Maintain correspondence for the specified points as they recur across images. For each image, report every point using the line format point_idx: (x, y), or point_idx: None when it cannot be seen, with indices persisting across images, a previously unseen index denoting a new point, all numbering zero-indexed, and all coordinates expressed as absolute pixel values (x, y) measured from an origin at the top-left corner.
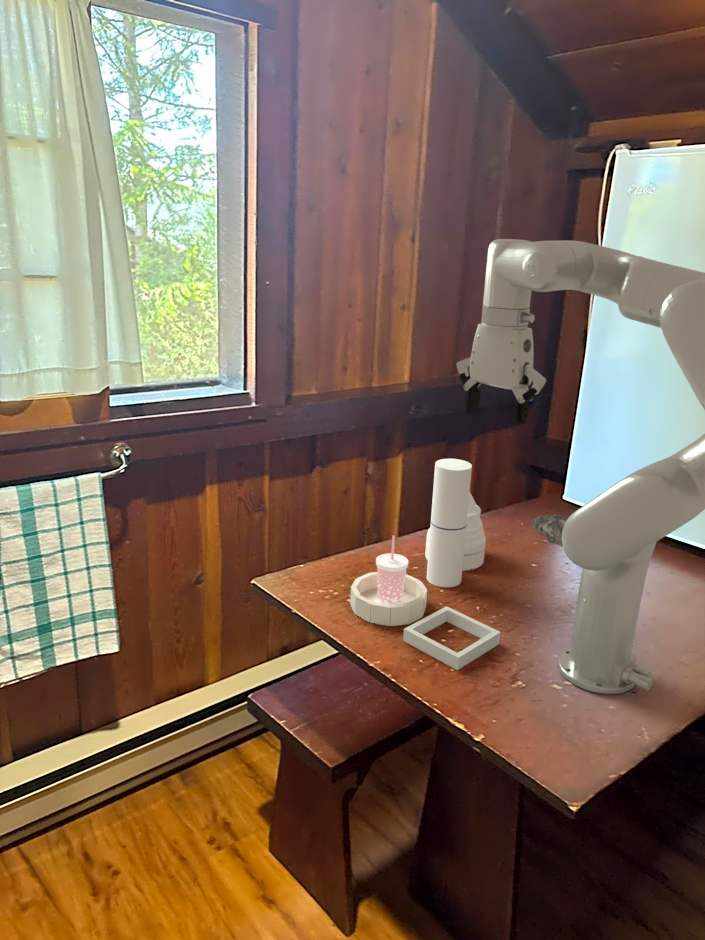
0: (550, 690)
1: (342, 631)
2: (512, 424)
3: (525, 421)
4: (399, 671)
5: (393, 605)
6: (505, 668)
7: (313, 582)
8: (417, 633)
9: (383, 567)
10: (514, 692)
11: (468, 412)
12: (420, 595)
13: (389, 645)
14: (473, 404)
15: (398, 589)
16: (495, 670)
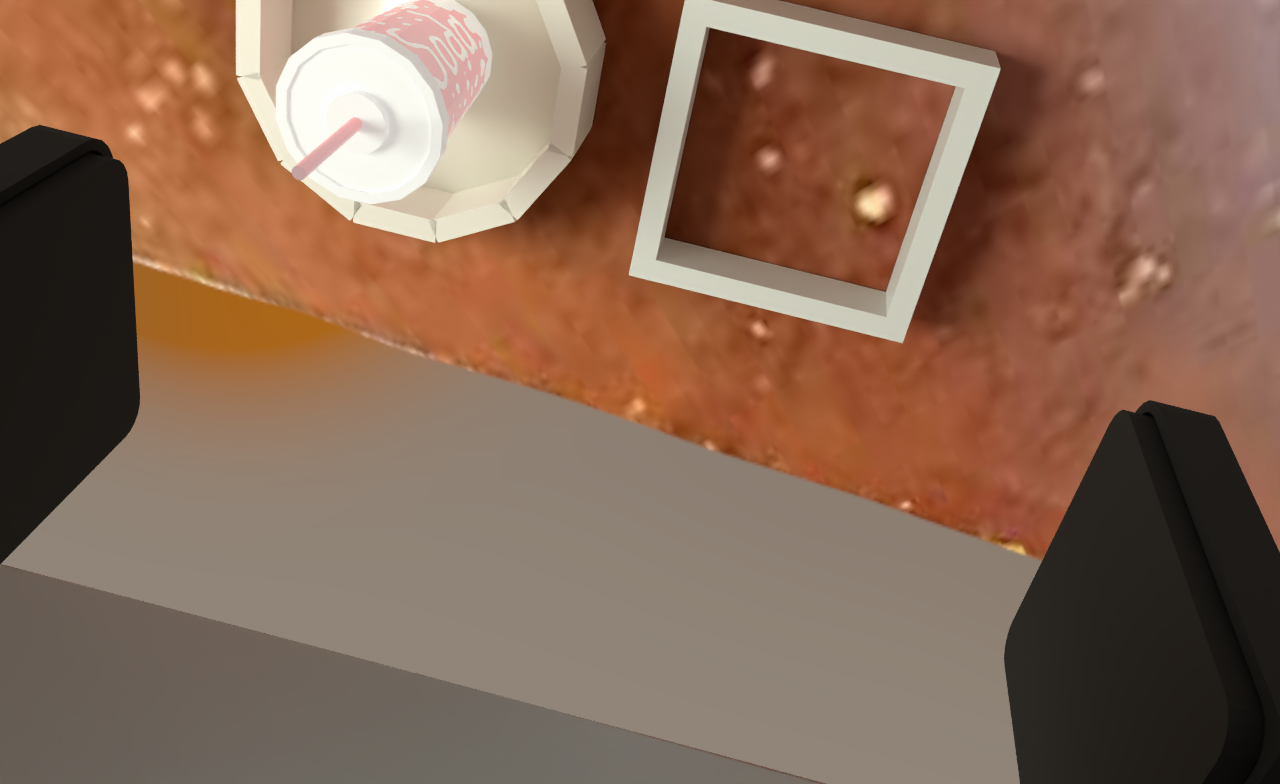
0: (1275, 253)
1: (426, 312)
2: (1010, 634)
3: (1213, 427)
4: (726, 417)
5: (514, 199)
6: (1069, 209)
7: (70, 53)
8: (690, 276)
9: (371, 201)
10: (1139, 331)
11: (122, 427)
12: (557, 45)
13: (614, 303)
14: (44, 402)
15: (465, 110)
16: (1035, 243)
